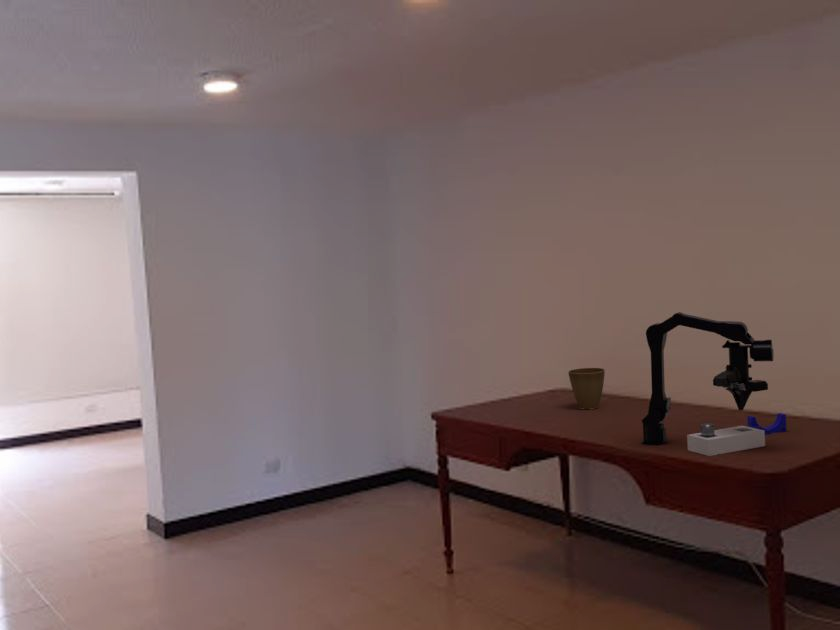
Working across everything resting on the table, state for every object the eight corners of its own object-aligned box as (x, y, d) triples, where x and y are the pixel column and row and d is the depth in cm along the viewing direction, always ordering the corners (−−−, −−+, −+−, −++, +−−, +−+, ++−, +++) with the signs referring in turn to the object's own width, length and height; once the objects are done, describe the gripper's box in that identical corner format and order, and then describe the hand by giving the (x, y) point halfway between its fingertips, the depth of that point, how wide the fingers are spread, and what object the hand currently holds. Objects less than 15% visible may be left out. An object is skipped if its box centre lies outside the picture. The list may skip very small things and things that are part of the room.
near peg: (698, 439, 271) (698, 424, 271) (708, 437, 273) (708, 422, 272) (707, 441, 268) (706, 426, 267) (717, 439, 269) (716, 424, 269)
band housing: (687, 450, 274) (687, 434, 273) (742, 440, 282) (741, 425, 281) (709, 456, 264) (708, 440, 264) (765, 446, 272) (764, 430, 272)
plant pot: (576, 404, 368) (574, 367, 367) (610, 405, 361) (608, 367, 360) (565, 411, 355) (563, 372, 354) (601, 412, 348) (599, 372, 347)
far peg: (734, 443, 277) (733, 429, 276) (744, 441, 278) (743, 427, 278) (743, 445, 273) (742, 431, 273) (753, 443, 274) (752, 429, 274)
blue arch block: (753, 436, 288) (753, 418, 288) (748, 433, 293) (747, 415, 292) (788, 433, 289) (787, 415, 288) (782, 430, 293) (781, 413, 293)
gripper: (698, 361, 279) (700, 409, 280) (739, 366, 262) (742, 417, 263) (725, 358, 283) (728, 405, 284) (768, 363, 266) (770, 412, 267)
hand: (740, 410), depth 275 cm, fingers closed
